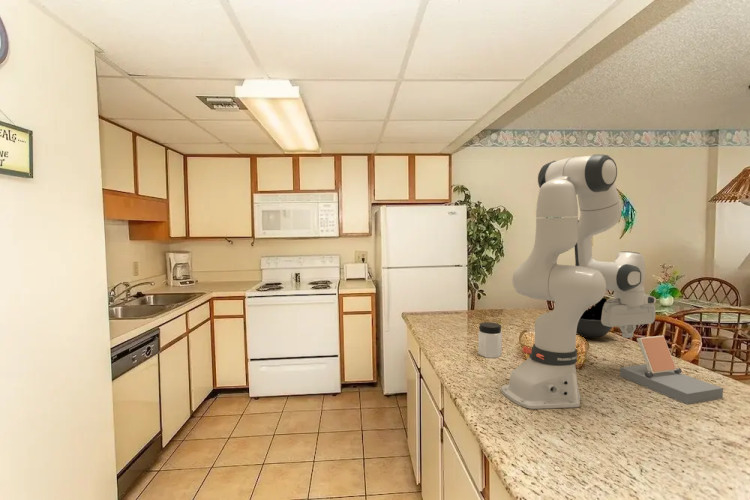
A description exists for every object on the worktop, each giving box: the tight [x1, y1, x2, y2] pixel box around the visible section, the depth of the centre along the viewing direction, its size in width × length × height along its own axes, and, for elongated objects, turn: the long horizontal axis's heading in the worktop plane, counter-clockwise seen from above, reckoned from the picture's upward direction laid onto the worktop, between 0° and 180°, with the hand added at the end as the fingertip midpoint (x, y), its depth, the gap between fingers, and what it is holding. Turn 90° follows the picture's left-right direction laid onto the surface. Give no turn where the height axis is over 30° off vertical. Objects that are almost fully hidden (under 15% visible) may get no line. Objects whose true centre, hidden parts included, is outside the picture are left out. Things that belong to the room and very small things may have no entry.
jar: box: [477, 321, 503, 359], centre depth 147 cm, size 9×8×12 cm
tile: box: [636, 335, 677, 373], centre depth 120 cm, size 10×11×1 cm
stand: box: [619, 363, 724, 405], centre depth 117 cm, size 14×21×5 cm, turn 15°
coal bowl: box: [576, 297, 613, 339], centre depth 171 cm, size 20×20×19 cm
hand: (627, 337), depth 130 cm, fingers closed
